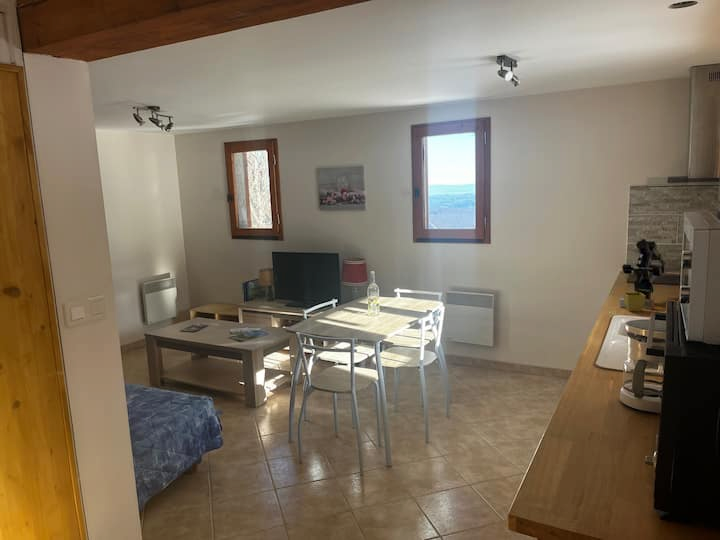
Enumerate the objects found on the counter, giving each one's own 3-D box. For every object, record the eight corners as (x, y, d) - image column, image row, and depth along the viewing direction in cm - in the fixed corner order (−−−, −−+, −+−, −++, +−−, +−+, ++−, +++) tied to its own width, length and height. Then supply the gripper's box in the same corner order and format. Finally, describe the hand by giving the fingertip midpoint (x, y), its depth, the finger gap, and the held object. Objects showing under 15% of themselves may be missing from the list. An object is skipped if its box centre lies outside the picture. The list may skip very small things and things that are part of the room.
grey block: (620, 306, 296) (620, 298, 295) (629, 306, 294) (629, 298, 293) (619, 307, 292) (620, 299, 291) (629, 308, 290) (629, 300, 289)
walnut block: (645, 307, 291) (645, 299, 291) (653, 308, 287) (654, 300, 287) (640, 308, 289) (640, 300, 288) (648, 309, 285) (649, 301, 284)
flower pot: (645, 312, 279) (646, 295, 277) (627, 312, 280) (628, 295, 279) (639, 308, 287) (640, 292, 286) (622, 308, 289) (623, 292, 288)
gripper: (664, 269, 297) (659, 292, 290) (628, 267, 309) (622, 289, 302) (662, 257, 290) (656, 280, 283) (625, 255, 302) (618, 277, 295)
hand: (638, 282), depth 291 cm, fingers closed
